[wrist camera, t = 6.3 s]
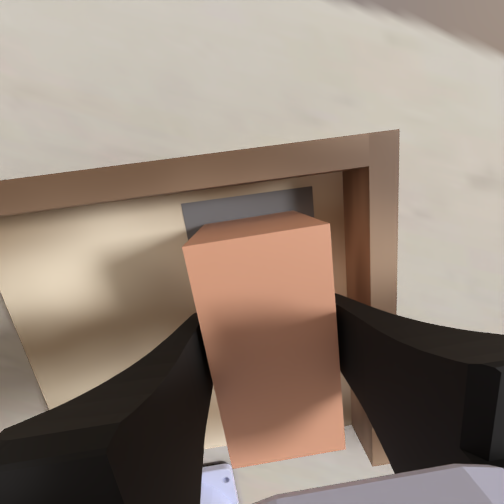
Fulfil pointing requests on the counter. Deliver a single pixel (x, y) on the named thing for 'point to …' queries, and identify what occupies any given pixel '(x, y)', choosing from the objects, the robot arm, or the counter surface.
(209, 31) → the counter surface
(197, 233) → the terracotta bar
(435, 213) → the counter surface
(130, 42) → the counter surface
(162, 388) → the robot arm
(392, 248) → the tray
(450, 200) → the counter surface
